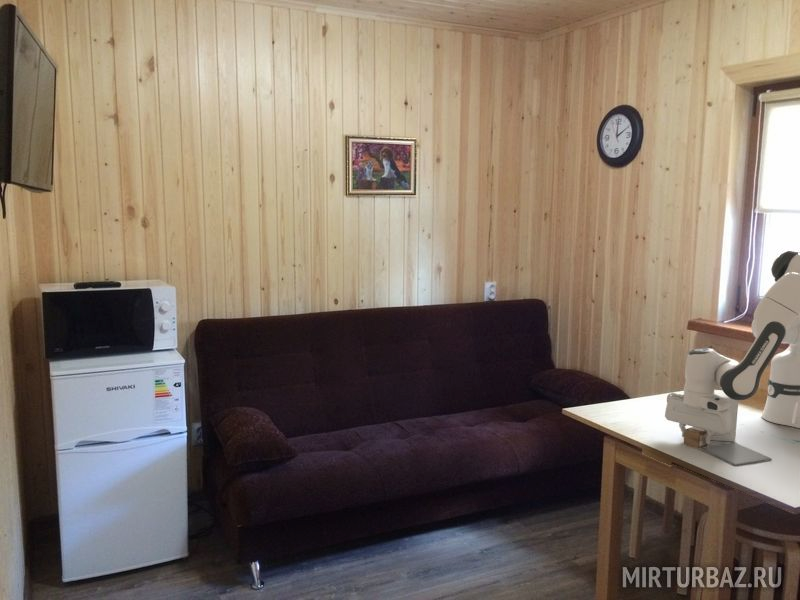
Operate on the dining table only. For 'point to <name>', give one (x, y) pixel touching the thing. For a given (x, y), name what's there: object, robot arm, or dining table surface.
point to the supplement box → (733, 411)
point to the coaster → (735, 454)
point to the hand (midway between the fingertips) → (695, 439)
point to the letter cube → (695, 437)
